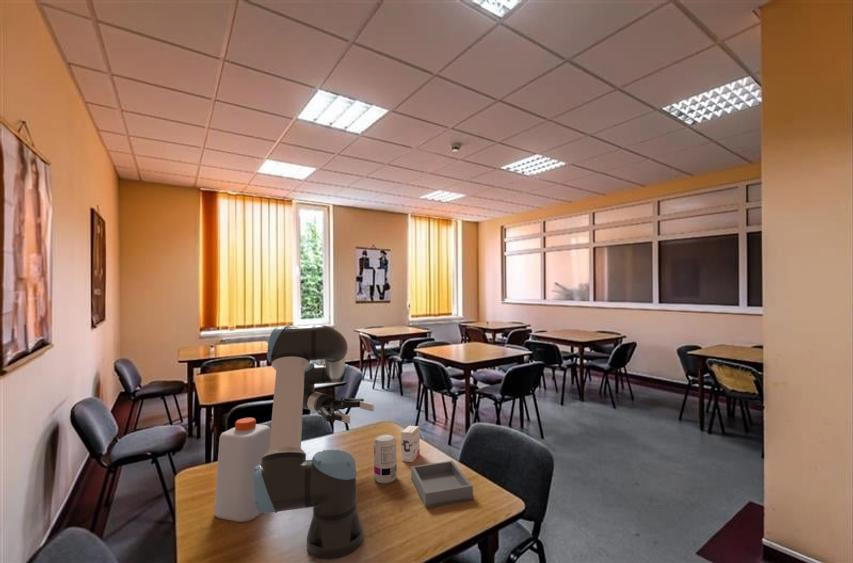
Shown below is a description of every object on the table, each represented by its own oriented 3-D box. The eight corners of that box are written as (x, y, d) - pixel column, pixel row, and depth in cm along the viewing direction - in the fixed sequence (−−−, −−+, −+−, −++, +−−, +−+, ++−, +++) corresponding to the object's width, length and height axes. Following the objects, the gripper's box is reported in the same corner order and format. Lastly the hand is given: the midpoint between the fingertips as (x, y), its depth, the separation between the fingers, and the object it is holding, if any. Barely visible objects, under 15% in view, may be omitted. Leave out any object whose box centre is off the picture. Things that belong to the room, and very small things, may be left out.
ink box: (409, 452, 164) (408, 424, 164) (420, 454, 162) (419, 425, 162) (401, 461, 156) (400, 431, 156) (412, 462, 154) (412, 432, 154)
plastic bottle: (281, 499, 128) (280, 414, 129) (248, 526, 113) (247, 430, 114) (244, 493, 132) (243, 411, 133) (207, 518, 118) (207, 426, 119)
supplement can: (370, 482, 138) (370, 440, 139) (379, 472, 146) (379, 432, 146) (391, 485, 136) (390, 442, 136) (399, 475, 144) (399, 434, 144)
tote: (472, 499, 125) (472, 485, 125) (425, 508, 121) (425, 493, 121) (452, 472, 145) (452, 460, 145) (411, 478, 140) (411, 466, 140)
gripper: (343, 402, 167) (382, 412, 156) (297, 423, 146) (338, 435, 135) (343, 385, 167) (381, 394, 156) (296, 403, 146) (338, 414, 135)
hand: (361, 413), depth 146 cm, fingers open, 13 cm apart
